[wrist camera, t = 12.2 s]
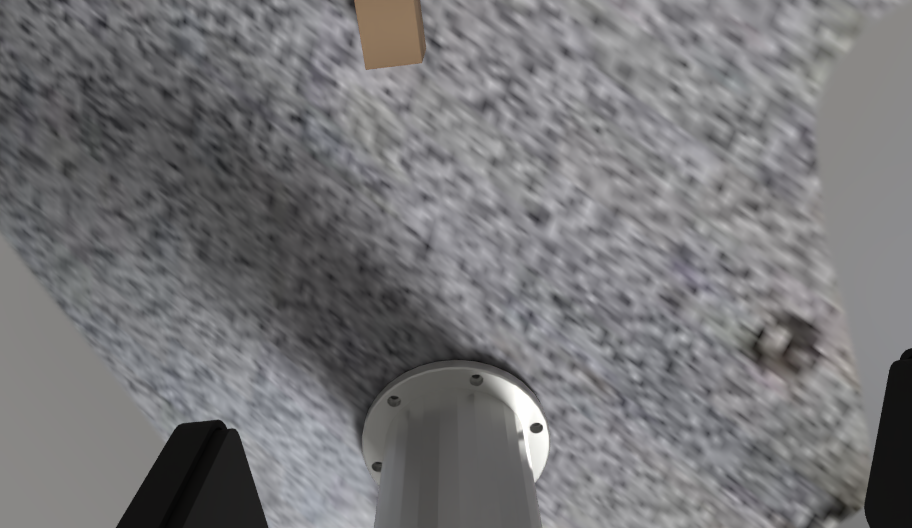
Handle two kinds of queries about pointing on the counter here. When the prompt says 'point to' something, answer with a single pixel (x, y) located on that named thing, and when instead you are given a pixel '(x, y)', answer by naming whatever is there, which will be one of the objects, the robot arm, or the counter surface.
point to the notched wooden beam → (390, 32)
